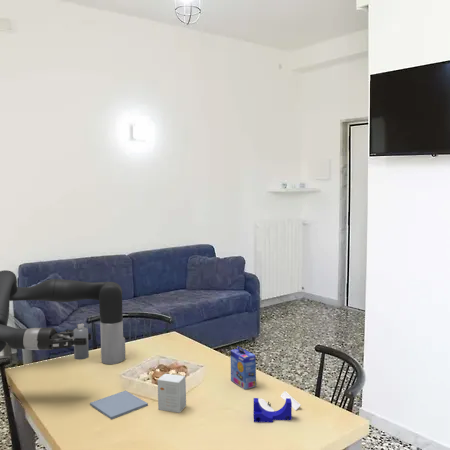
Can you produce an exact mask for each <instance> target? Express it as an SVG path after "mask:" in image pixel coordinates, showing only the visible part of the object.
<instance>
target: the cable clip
mask: <svg viewBox="0 0 450 450" xmlns="http://www.w3.org/2000/svg"><path fill="white" fill-rule="evenodd" d="M258 398H259V397H253V411H252V412H253V423H274V421H292V419H293V418H292V411H293V410H292V409H293V408H292V402H291V398H286V401H284V402H285V403H284V404H283V406H282V407H281V408H279V409H278V410H274V412H271V411H267V410H265V409H263V408H262V407H261V406H260V404H259V401H258Z"/></svg>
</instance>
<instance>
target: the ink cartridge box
mask: <svg viewBox="0 0 450 450" xmlns="http://www.w3.org/2000/svg"><path fill="white" fill-rule="evenodd" d="M236 347H237V348H234V349H231V350H230V351H229V352H230V381H231V382H232V383H234V384H236V386H239V387H240V388H242V389H243V390H249V389H252V388H256V387H257V366H256V365H257V361H256V354H254V353H253V352H250V351H248V350H246V349H245V348H242V347H241V346H237V345H236Z"/></svg>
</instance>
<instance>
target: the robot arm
mask: <svg viewBox="0 0 450 450" xmlns="http://www.w3.org/2000/svg"><path fill="white" fill-rule="evenodd" d="M83 300H94V301H98V303H99V318H100V319H99V321H100V322H99V323H100V324H99V325H100V353H101V354H100V359H101V360H100V361H101V363H102V364H105V365H115V364H120V363H121V362H123V361H124V360H126V338H125V337H124V322H123V321H124V320H123V319H124V318H123V317H124V315H123V289H122V286H121V285H120V284H118V283H117V282H114V281H101V282H100V281H99V282H98V281H96V282H89V281H88V282H87V281H83V280H81V281H80V280H73V279H63V278H62V279H60V278H59V279H58V278H51V279H47V280H45V281H44V280H43V282H41V283H38V284H35V285H33V286H28V287H27V286H24V287H21V286H18V279H17V275H16V274H15V273H14V271H11V270H0V353H1V352H2V351H4V350H5V348H6V347H7V345H8V346H9V348H11V349H12V350H32V351H53V350H57V349H69V348H72V347H74V346H75V344H76V345H86V344H87V339H86V338H74V329H66V330H65V331H61V332H58V331H57V330H56V328H55V327H31V328H17V327H13V326H9V325H8V322H9V318H10V316H9V315H10V302H15V301H16V302H18V301H21V302H22V301H38V302H39V301H40V302H41V301H42V302H55V303H56V302H57V303H70V302H77V301H83ZM89 340H92V333H89V332H88V341H89Z"/></svg>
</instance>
